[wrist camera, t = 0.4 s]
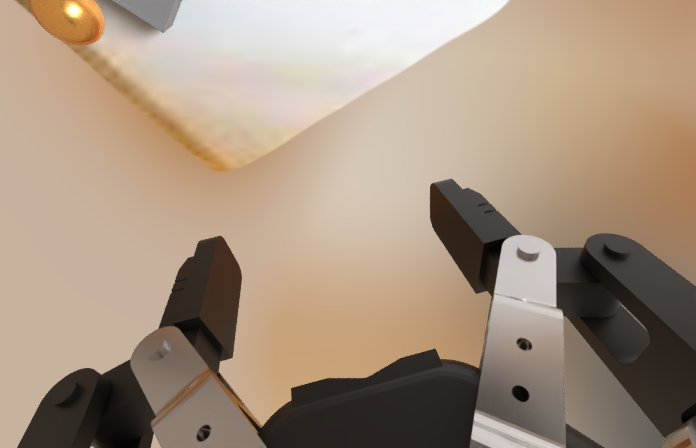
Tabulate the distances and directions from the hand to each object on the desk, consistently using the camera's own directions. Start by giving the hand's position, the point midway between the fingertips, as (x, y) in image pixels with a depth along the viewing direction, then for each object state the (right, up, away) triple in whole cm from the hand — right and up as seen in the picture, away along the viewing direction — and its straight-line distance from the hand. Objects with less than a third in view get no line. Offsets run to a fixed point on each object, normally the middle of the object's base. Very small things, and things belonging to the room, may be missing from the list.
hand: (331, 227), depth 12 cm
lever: (-17, +19, +8) cm, 27 cm away
